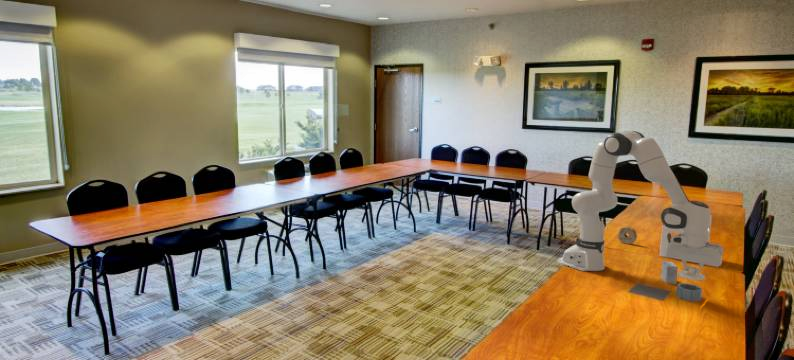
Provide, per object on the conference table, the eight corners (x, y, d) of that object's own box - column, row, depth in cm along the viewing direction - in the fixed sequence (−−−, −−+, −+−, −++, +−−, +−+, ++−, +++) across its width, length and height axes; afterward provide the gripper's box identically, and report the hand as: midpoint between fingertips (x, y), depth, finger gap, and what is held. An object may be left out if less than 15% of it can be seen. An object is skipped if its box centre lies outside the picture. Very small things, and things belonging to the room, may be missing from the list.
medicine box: (676, 285, 232) (678, 267, 231) (665, 284, 233) (667, 266, 231) (670, 279, 240) (672, 261, 238) (660, 278, 240) (662, 260, 239)
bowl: (674, 298, 216) (675, 287, 215) (679, 292, 223) (680, 281, 222) (697, 304, 210) (699, 292, 210) (702, 298, 217) (704, 287, 216)
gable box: (707, 257, 274) (713, 206, 270) (706, 264, 263) (713, 211, 259) (661, 250, 286) (666, 201, 282) (658, 256, 275) (664, 205, 271)
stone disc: (637, 244, 296) (638, 228, 295) (634, 245, 294) (635, 229, 292) (619, 240, 304) (621, 224, 302) (616, 241, 301) (618, 225, 300)
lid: (675, 276, 214) (676, 267, 214) (681, 270, 222) (681, 262, 221) (702, 282, 208) (703, 272, 207) (707, 276, 215) (708, 267, 215)
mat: (627, 292, 222) (627, 291, 222) (638, 284, 232) (638, 283, 232) (662, 301, 212) (662, 300, 212) (671, 292, 223) (671, 291, 223)
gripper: (725, 243, 208) (721, 275, 210) (670, 234, 221) (667, 264, 223) (722, 246, 203) (718, 279, 205) (666, 237, 217) (663, 268, 219)
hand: (691, 271), depth 214 cm, fingers closed on lid, 3 cm apart
